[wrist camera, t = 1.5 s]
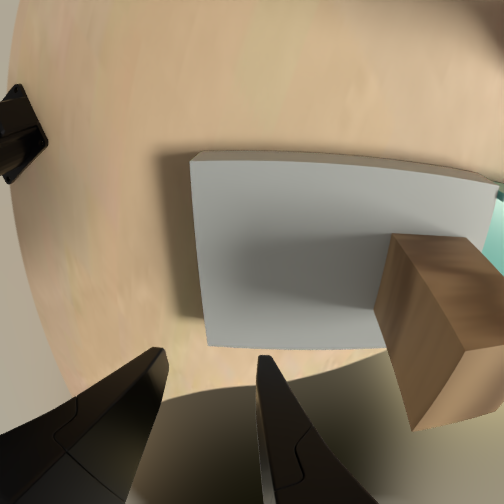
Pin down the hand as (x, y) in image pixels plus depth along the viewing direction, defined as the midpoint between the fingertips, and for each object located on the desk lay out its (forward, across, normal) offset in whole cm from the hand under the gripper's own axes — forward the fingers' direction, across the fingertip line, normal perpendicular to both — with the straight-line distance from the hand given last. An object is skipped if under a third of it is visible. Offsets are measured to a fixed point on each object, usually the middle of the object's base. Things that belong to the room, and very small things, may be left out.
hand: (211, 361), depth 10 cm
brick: (+10, +12, -3) cm, 16 cm away
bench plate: (+13, +7, -3) cm, 15 cm away
